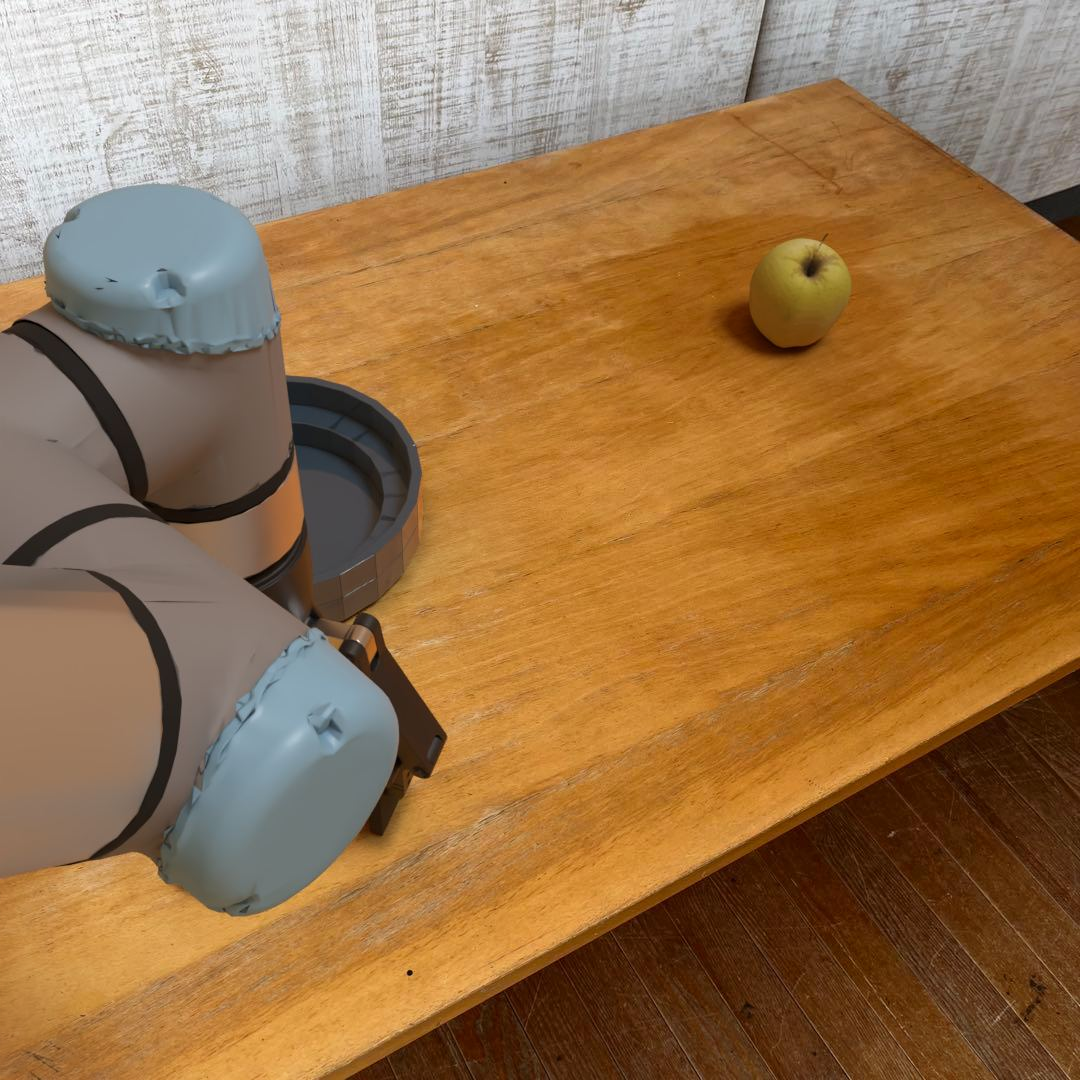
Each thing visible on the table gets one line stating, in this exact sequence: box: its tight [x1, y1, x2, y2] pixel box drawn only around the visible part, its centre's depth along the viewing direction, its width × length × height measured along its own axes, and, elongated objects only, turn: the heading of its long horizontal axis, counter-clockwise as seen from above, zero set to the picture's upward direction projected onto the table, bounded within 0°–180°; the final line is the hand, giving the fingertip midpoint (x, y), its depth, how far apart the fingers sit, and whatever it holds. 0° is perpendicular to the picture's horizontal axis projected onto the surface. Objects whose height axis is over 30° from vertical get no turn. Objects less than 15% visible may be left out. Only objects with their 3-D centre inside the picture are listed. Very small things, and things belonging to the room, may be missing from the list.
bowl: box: [286, 374, 424, 623], centre depth 79 cm, size 20×20×5 cm
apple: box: [748, 232, 853, 349], centre depth 95 cm, size 8×8×10 cm
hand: (276, 777), depth 67 cm, fingers open, 13 cm apart
